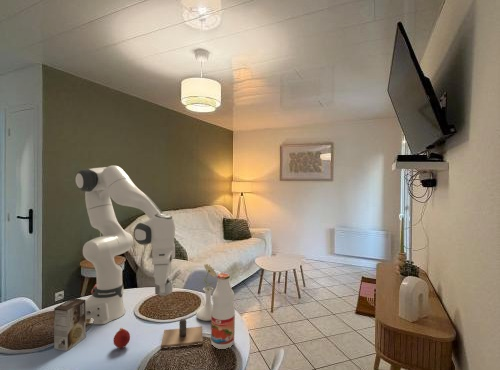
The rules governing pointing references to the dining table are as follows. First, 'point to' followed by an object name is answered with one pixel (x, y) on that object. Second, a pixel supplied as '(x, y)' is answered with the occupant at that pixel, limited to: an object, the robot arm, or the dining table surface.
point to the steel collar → (167, 288)
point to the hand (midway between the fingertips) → (164, 287)
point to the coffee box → (69, 324)
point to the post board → (182, 335)
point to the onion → (121, 338)
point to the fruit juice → (223, 313)
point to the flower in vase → (207, 298)
